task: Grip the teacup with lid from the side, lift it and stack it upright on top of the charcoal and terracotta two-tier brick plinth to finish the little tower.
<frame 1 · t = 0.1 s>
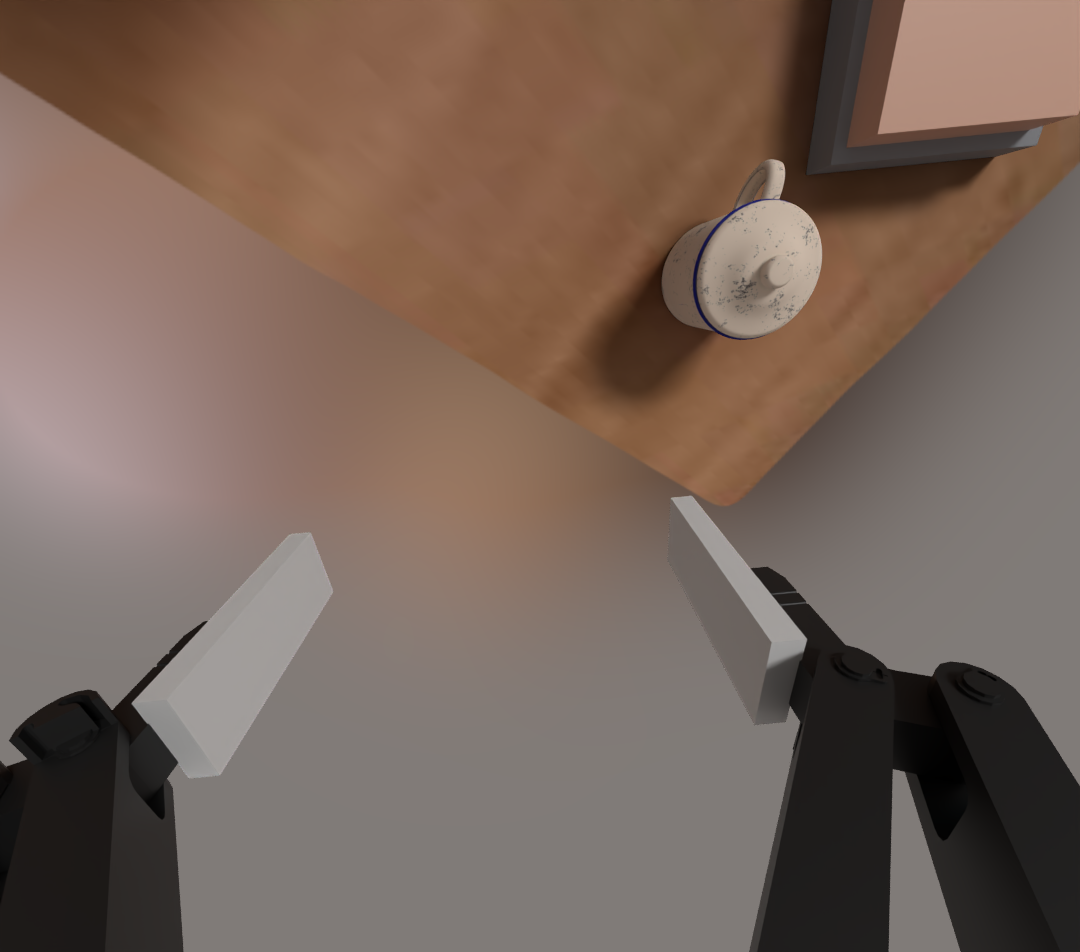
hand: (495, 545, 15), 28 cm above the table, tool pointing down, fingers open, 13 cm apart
brick plinth: (930, 36, 31), on the table
teacup with lid: (711, 259, 37), on the table
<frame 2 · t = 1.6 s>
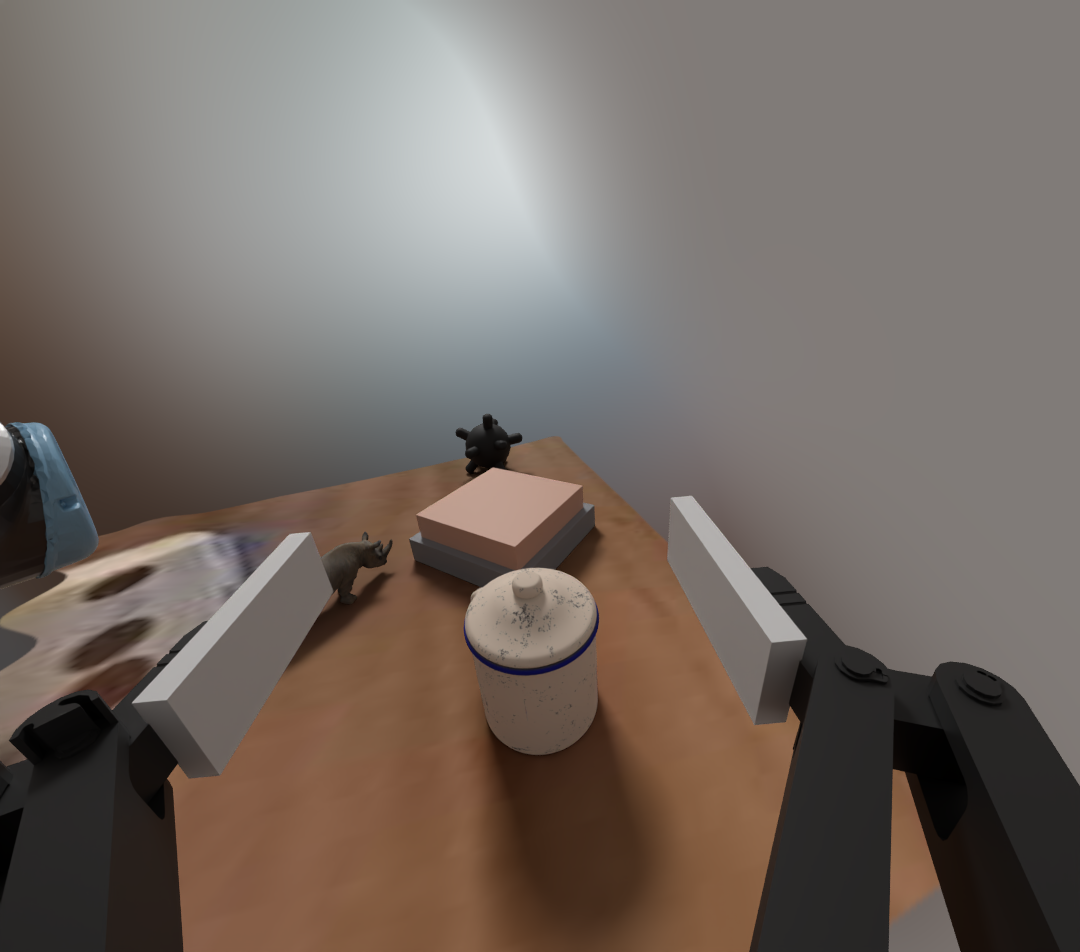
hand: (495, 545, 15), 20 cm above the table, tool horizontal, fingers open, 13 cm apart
rhino figurine: (346, 597, 44), on the table
brick plinth: (507, 542, 51), on the table
teacup with lid: (528, 689, 32), on the table
toy ball: (489, 471, 71), on the table
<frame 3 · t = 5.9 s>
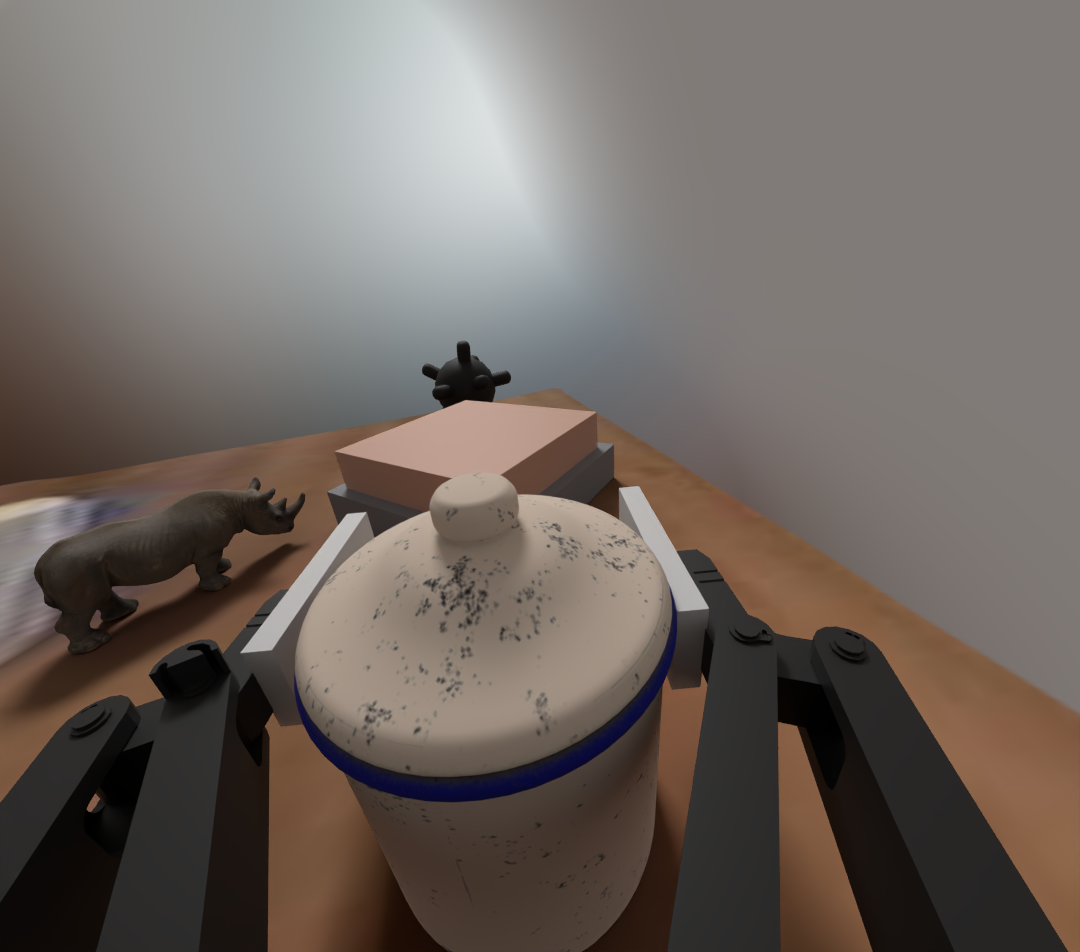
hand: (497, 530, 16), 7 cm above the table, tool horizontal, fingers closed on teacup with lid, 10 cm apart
rhino figurine: (218, 581, 27), on the table
brick plinth: (483, 500, 34), on the table
teacup with lid: (499, 760, 15), on the table, touching gripper
toy ball: (468, 424, 54), on the table
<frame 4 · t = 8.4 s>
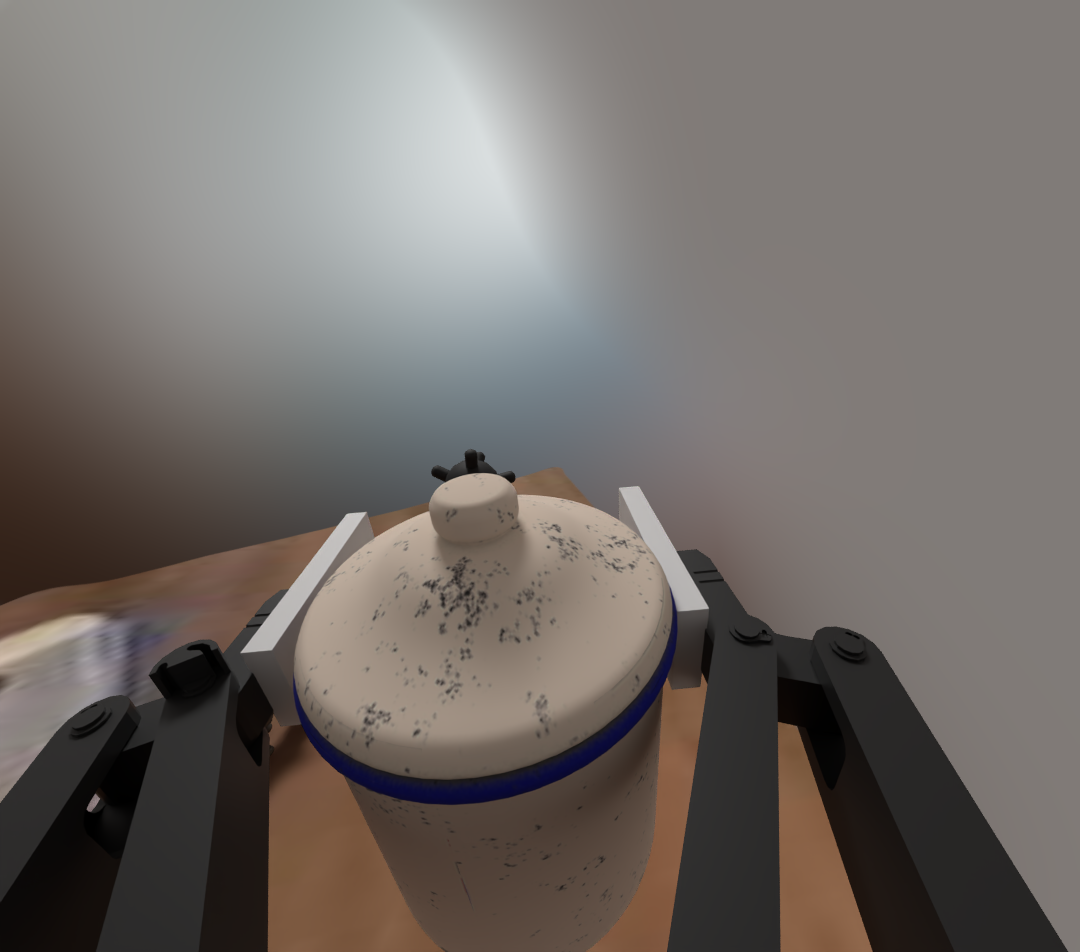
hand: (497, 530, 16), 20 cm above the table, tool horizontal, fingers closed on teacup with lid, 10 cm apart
teacup with lid: (499, 761, 15), point 13 cm above the table, touching gripper
toy ball: (475, 519, 57), on the table
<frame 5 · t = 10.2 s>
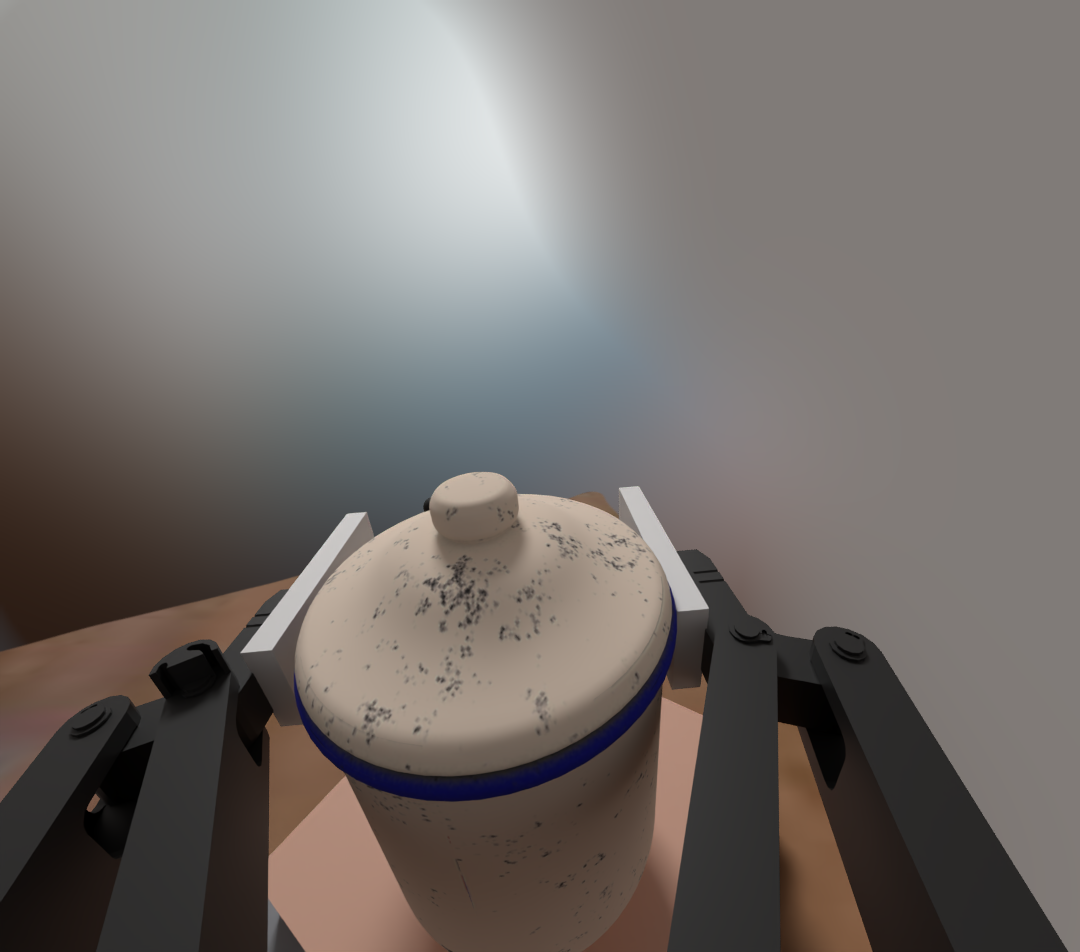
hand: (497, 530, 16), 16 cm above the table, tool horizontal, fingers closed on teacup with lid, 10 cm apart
brick plinth: (532, 870, 19), on the table
teacup with lid: (499, 760, 15), point 9 cm above the table, touching gripper
when the fingers open (14 cm above the table, at t = 10.9 s): teacup with lid drops 1 cm, resting on brick plinth.
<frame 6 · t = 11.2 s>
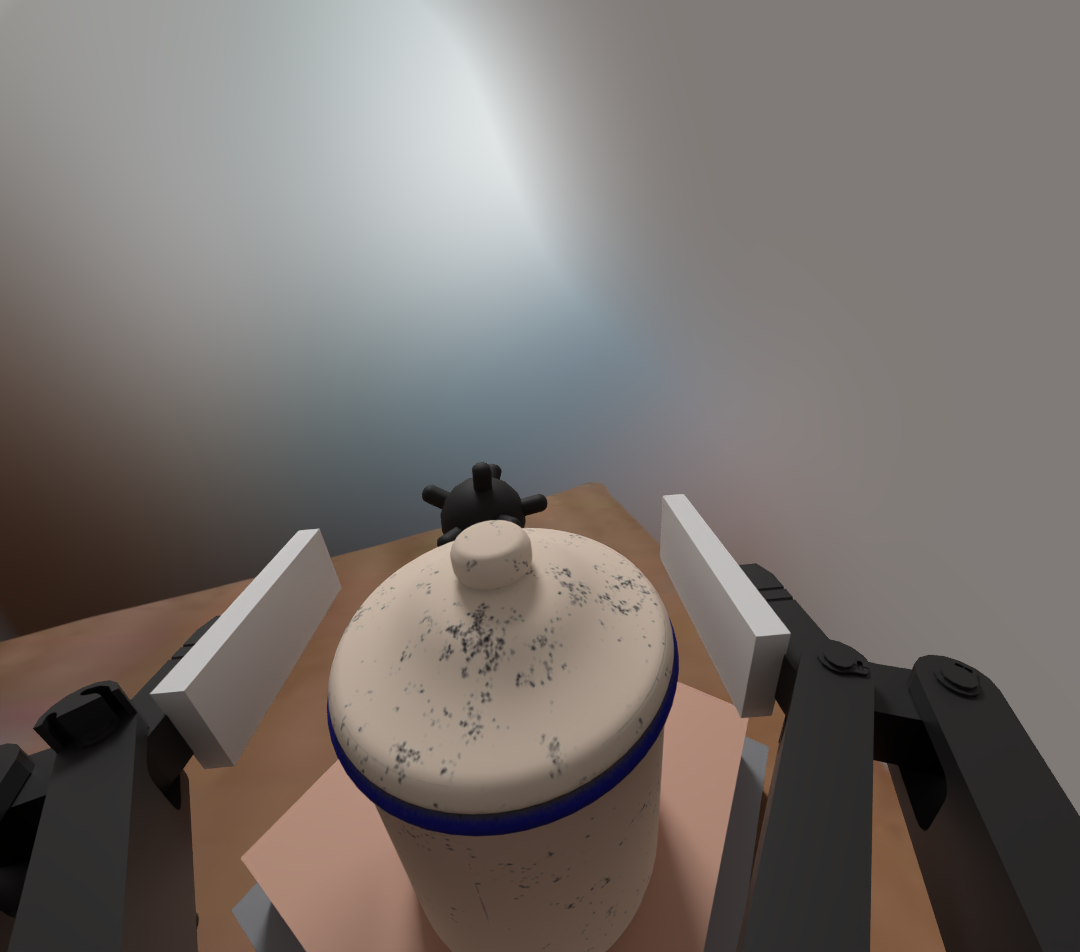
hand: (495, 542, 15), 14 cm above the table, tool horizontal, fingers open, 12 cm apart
brick plinth: (534, 856, 18), on the table
teacup with lid: (510, 777, 16), point 6 cm above the table, touching brick plinth
toy ball: (487, 563, 39), on the table
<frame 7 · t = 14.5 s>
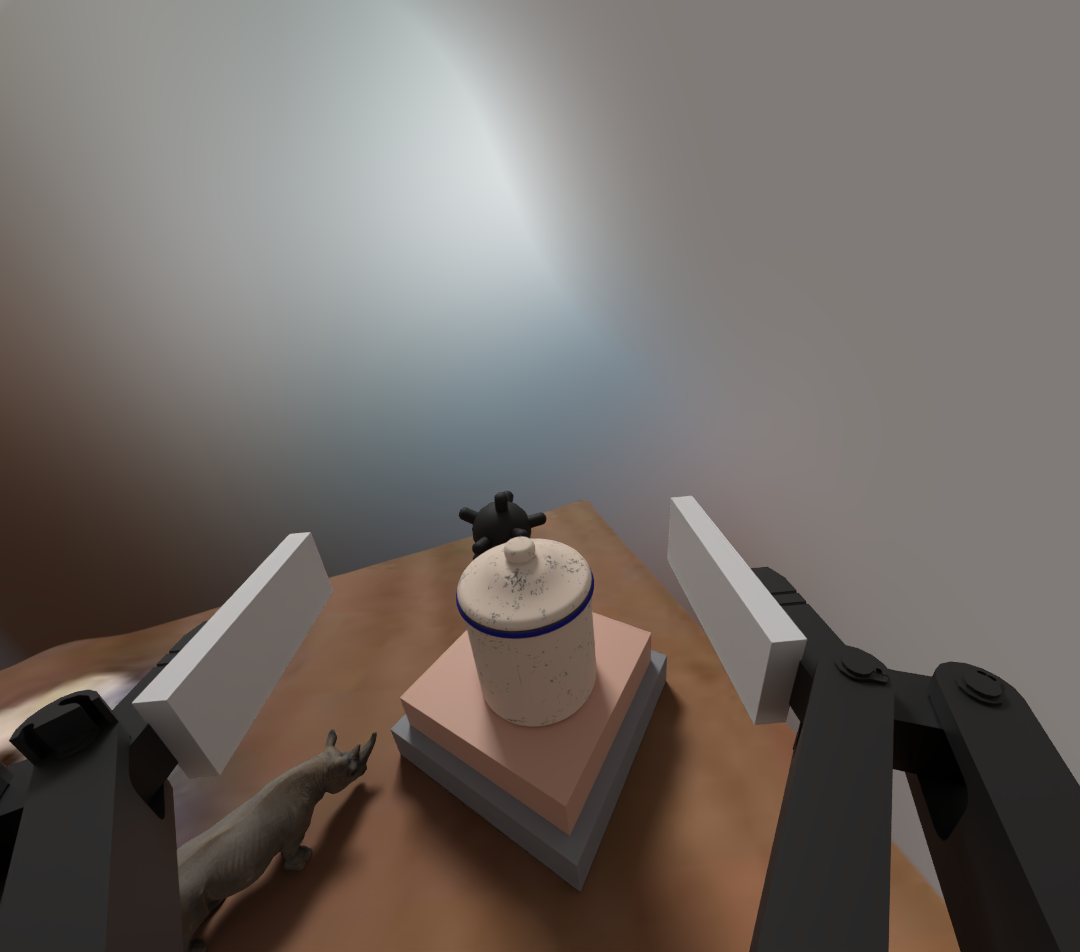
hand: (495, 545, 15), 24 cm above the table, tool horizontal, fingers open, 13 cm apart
rhino figurine: (298, 845, 28), on the table
brick plinth: (539, 715, 34), on the table
teacup with lid: (526, 664, 32), point 6 cm above the table, touching brick plinth
toy ball: (504, 562, 54), on the table
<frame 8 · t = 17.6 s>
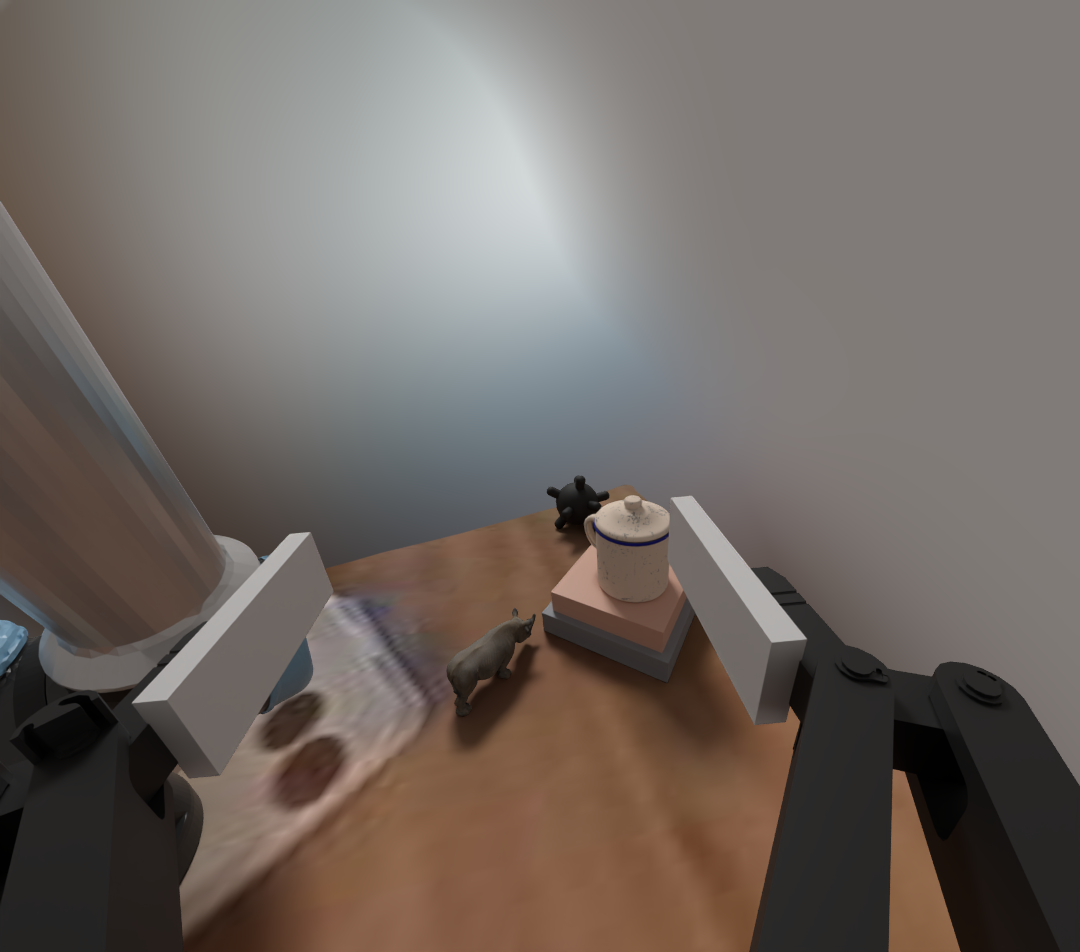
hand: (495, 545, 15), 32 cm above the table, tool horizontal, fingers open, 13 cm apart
rhino figurine: (500, 670, 49), on the table
brick plinth: (626, 611, 55), on the table
teacup with lid: (622, 576, 53), point 6 cm above the table, touching brick plinth
toy ball: (576, 526, 75), on the table
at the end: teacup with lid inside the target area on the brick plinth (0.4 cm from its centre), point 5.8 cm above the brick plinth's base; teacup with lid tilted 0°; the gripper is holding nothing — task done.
